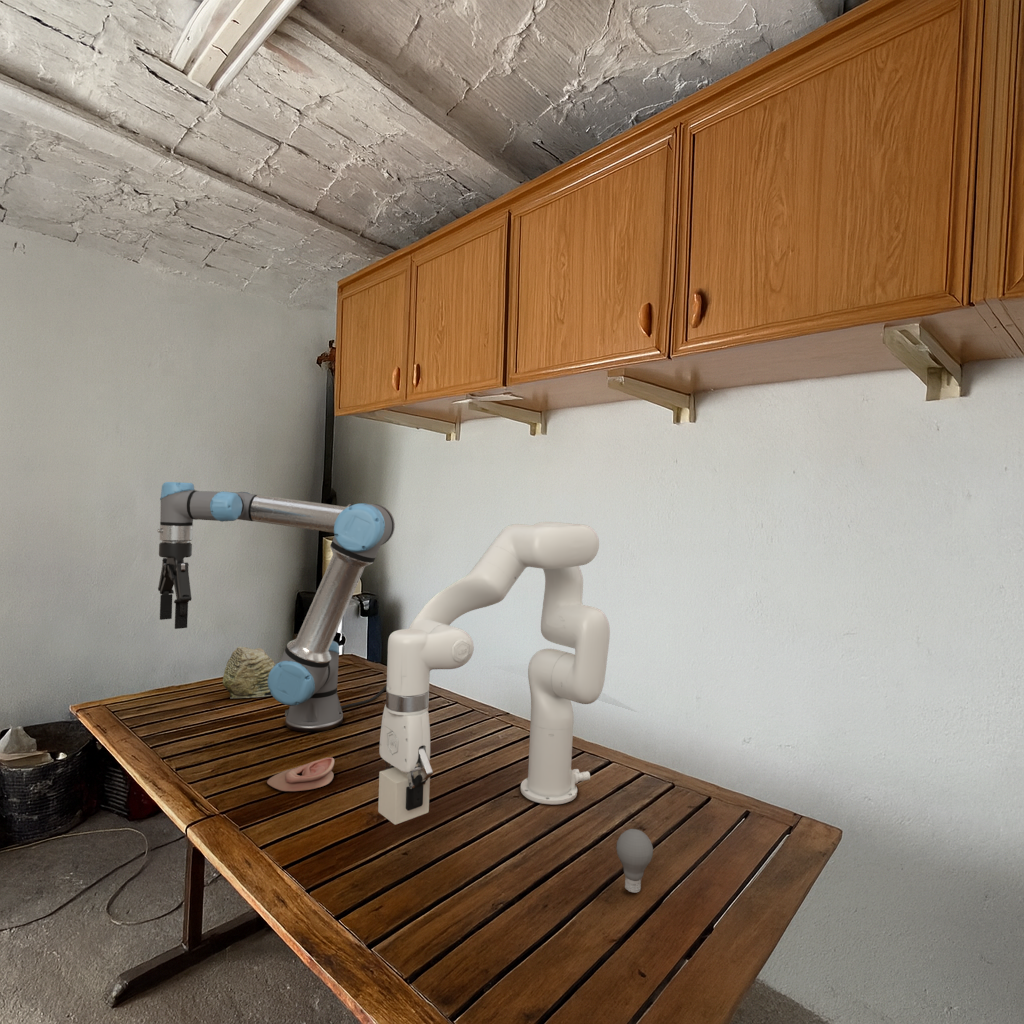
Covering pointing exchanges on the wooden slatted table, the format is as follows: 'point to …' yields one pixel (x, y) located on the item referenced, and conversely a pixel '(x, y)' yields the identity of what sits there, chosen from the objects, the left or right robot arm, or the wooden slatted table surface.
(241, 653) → the fossil
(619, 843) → the light bulb
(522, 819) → the wooden slatted table surface
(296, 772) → the anatomical model
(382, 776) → the brick
